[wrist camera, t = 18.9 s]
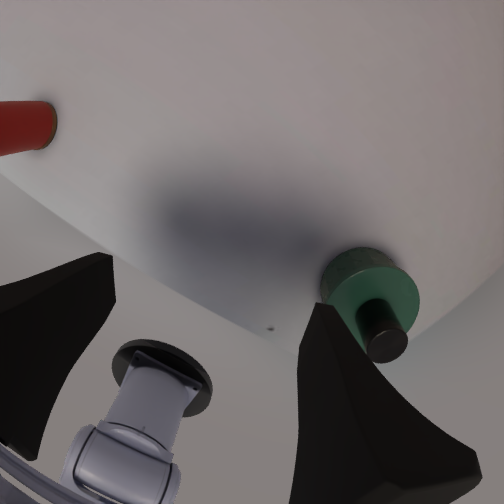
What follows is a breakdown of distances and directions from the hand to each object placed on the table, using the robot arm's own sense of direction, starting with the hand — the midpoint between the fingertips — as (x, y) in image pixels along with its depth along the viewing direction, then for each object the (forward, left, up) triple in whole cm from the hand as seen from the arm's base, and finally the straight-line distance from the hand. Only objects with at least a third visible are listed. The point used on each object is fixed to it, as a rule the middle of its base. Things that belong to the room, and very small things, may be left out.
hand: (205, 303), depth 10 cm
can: (-1, +18, -10) cm, 21 cm away
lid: (0, -10, -7) cm, 12 cm away
